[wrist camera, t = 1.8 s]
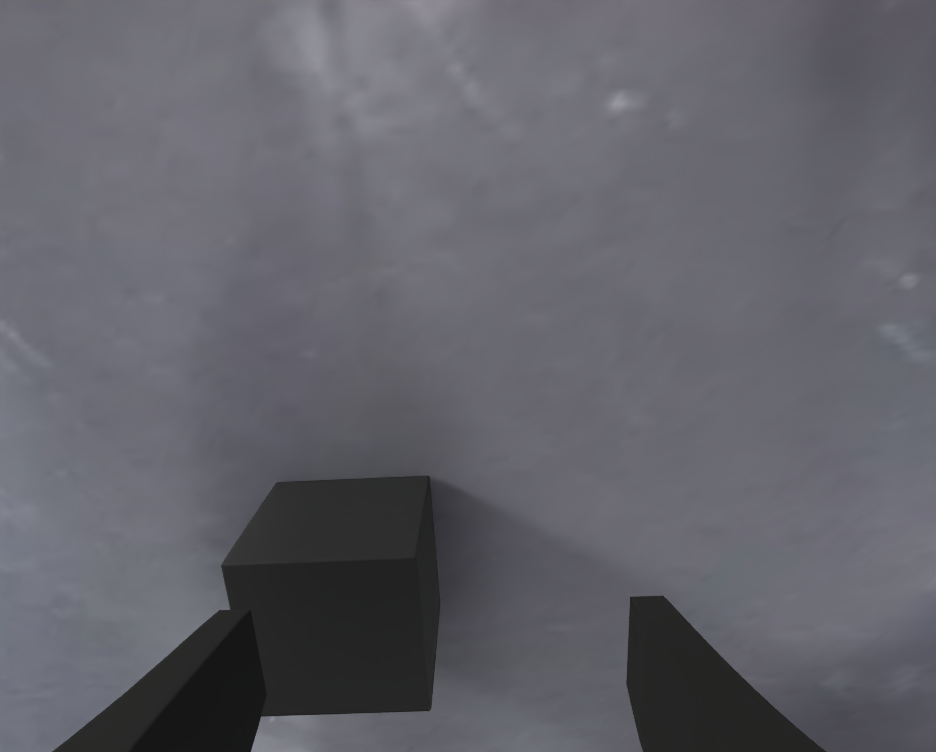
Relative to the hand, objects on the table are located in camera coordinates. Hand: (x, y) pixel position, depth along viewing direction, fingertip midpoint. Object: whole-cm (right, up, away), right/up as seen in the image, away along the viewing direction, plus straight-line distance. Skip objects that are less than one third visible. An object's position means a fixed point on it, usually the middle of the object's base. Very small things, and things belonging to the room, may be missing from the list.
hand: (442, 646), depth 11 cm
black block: (-3, -1, +9) cm, 10 cm away
